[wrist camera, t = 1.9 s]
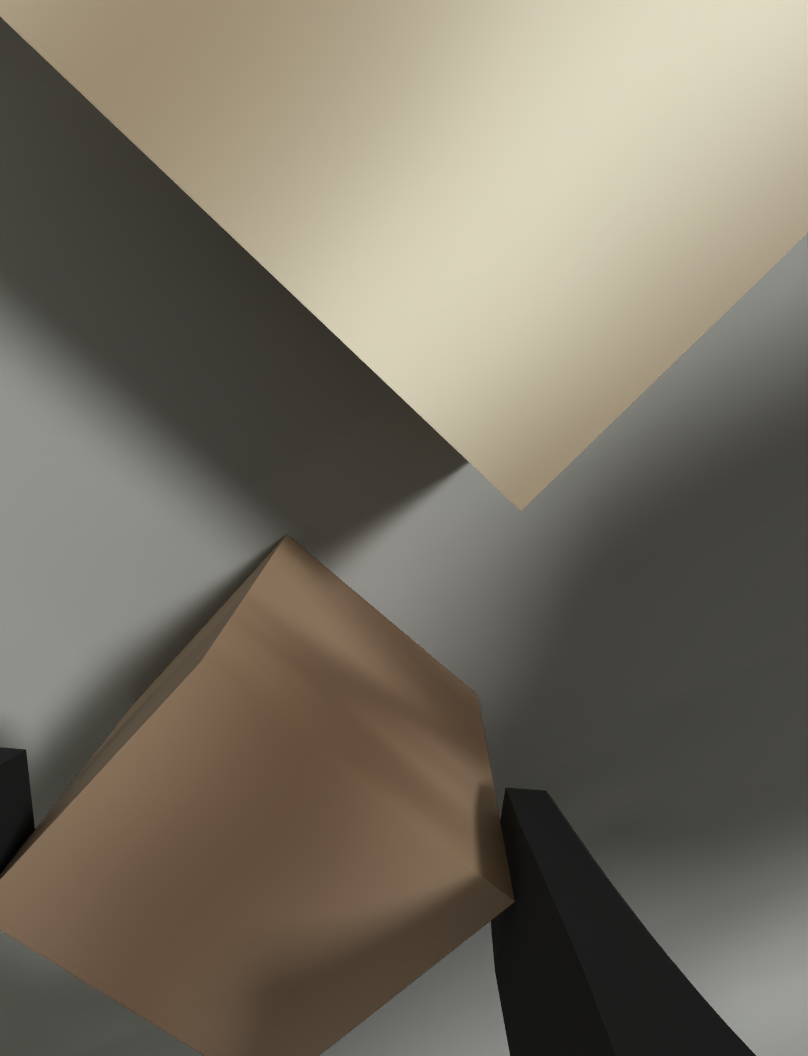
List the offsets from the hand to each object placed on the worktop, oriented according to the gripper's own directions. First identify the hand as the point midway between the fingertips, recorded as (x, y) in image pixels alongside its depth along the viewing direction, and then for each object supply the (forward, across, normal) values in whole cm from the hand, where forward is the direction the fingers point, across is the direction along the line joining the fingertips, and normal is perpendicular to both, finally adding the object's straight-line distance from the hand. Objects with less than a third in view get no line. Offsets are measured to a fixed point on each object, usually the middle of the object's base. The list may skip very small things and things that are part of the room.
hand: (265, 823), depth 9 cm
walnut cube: (+4, 0, 0) cm, 4 cm away
